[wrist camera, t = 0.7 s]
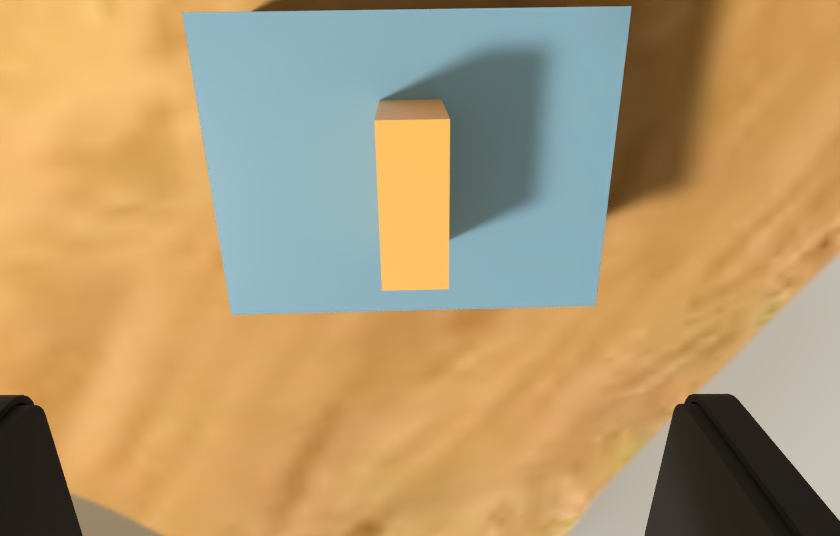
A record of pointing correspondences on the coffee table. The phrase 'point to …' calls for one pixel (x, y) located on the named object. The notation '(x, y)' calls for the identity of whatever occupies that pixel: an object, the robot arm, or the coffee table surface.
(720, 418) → the robot arm
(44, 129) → the coffee table surface
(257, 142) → the tub lid
